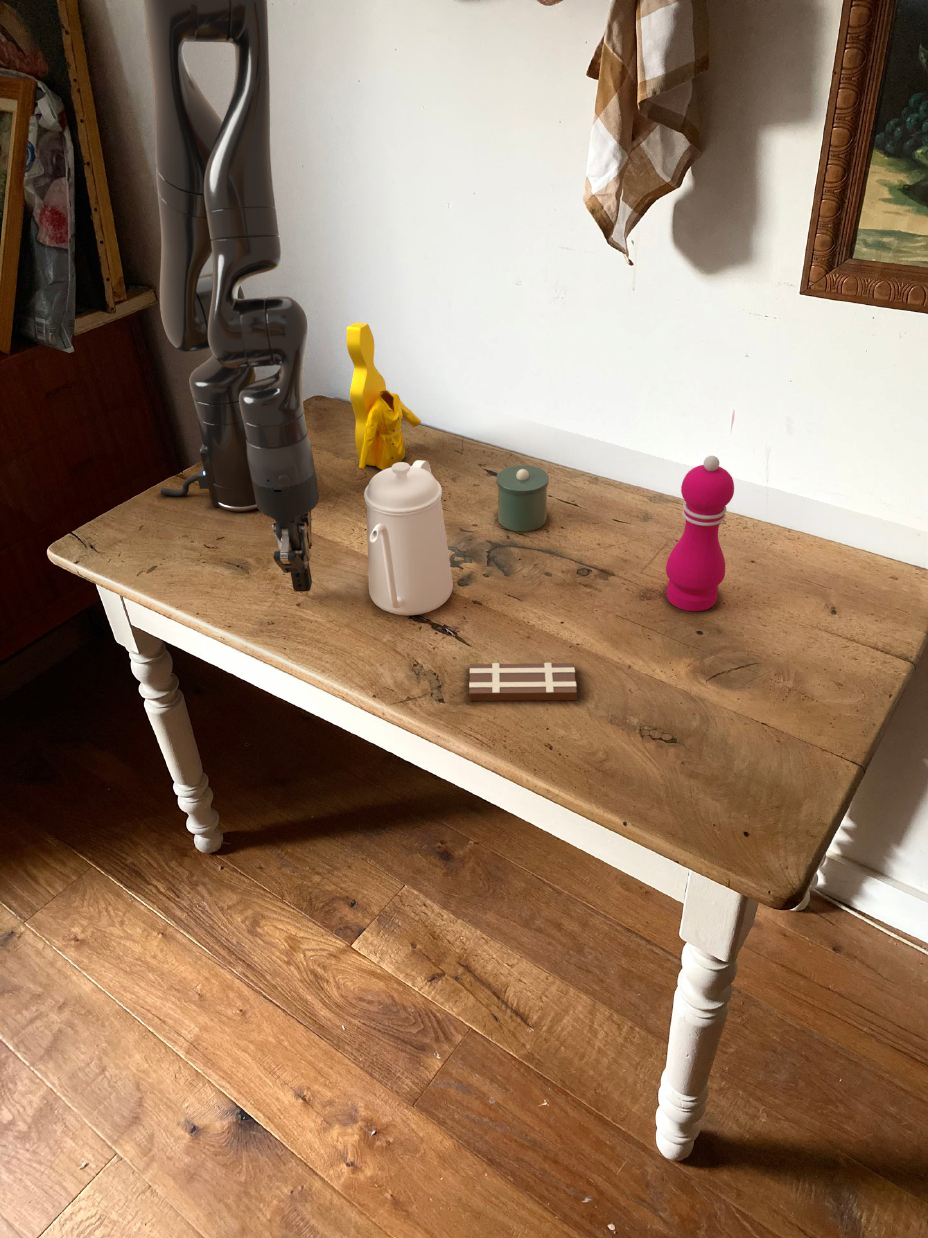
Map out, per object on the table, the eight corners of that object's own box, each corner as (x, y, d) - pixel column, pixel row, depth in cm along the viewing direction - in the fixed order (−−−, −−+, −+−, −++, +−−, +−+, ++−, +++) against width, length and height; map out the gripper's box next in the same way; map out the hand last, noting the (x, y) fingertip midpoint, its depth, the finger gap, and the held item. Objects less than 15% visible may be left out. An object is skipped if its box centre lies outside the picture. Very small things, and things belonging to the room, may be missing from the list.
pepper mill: (723, 585, 118) (748, 446, 106) (716, 618, 113) (741, 475, 101) (667, 576, 120) (685, 438, 108) (658, 608, 115) (675, 467, 103)
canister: (496, 532, 130) (496, 483, 125) (496, 505, 136) (496, 457, 131) (549, 532, 130) (550, 482, 125) (546, 505, 136) (547, 456, 131)
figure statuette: (373, 490, 140) (358, 352, 127) (331, 479, 144) (313, 343, 130) (431, 441, 153) (423, 310, 139) (391, 432, 156) (380, 303, 142)
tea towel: (469, 701, 103) (469, 692, 102) (470, 671, 107) (469, 663, 106) (576, 700, 102) (577, 691, 101) (573, 670, 106) (573, 662, 105)
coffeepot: (341, 652, 110) (321, 519, 98) (394, 540, 129) (382, 417, 118) (429, 662, 108) (419, 527, 97) (469, 546, 127) (465, 422, 116)
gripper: (262, 443, 113) (283, 559, 124) (238, 498, 103) (264, 620, 113) (322, 442, 113) (339, 559, 123) (304, 497, 102) (324, 619, 113)
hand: (303, 588), depth 118 cm, fingers closed
